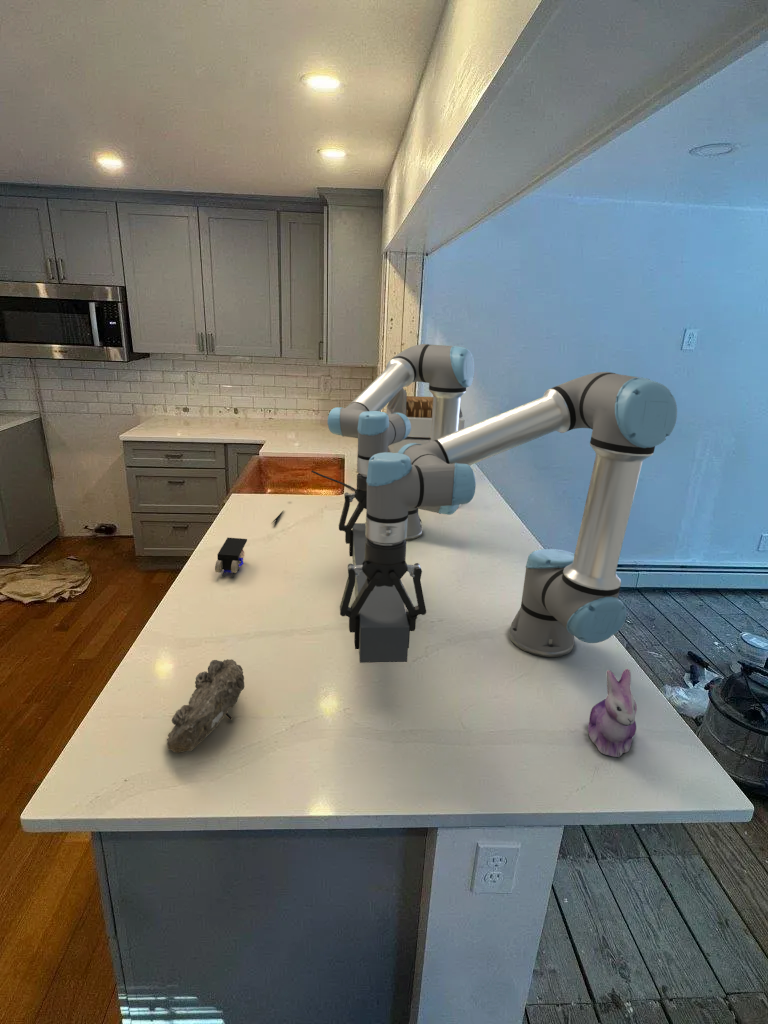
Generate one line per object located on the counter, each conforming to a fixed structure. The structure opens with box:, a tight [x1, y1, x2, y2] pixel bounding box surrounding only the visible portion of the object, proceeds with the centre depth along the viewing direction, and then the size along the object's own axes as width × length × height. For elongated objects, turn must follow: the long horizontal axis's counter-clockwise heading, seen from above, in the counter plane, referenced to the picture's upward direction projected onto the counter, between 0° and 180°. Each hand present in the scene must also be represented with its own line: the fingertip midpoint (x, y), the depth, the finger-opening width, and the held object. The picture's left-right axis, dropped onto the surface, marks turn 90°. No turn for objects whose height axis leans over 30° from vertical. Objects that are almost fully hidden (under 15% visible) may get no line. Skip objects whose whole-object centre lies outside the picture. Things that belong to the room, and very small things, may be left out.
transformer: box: [385, 387, 465, 453], centre depth 268 cm, size 34×33×41 cm
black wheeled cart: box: [214, 537, 248, 578], centre depth 166 cm, size 7×8×15 cm
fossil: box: [166, 658, 245, 754], centre depth 106 cm, size 22×10×15 cm
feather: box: [271, 509, 284, 527], centre depth 213 cm, size 2×28×2 cm
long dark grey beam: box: [351, 522, 410, 664], centre depth 130 cm, size 54×9×8 cm, turn 5°
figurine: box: [587, 668, 638, 758], centre depth 104 cm, size 9×10×15 cm
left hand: (368, 554), depth 152 cm, fingers closed on long dark grey beam, 9 cm apart
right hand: (381, 644), depth 111 cm, fingers closed on long dark grey beam, 9 cm apart
